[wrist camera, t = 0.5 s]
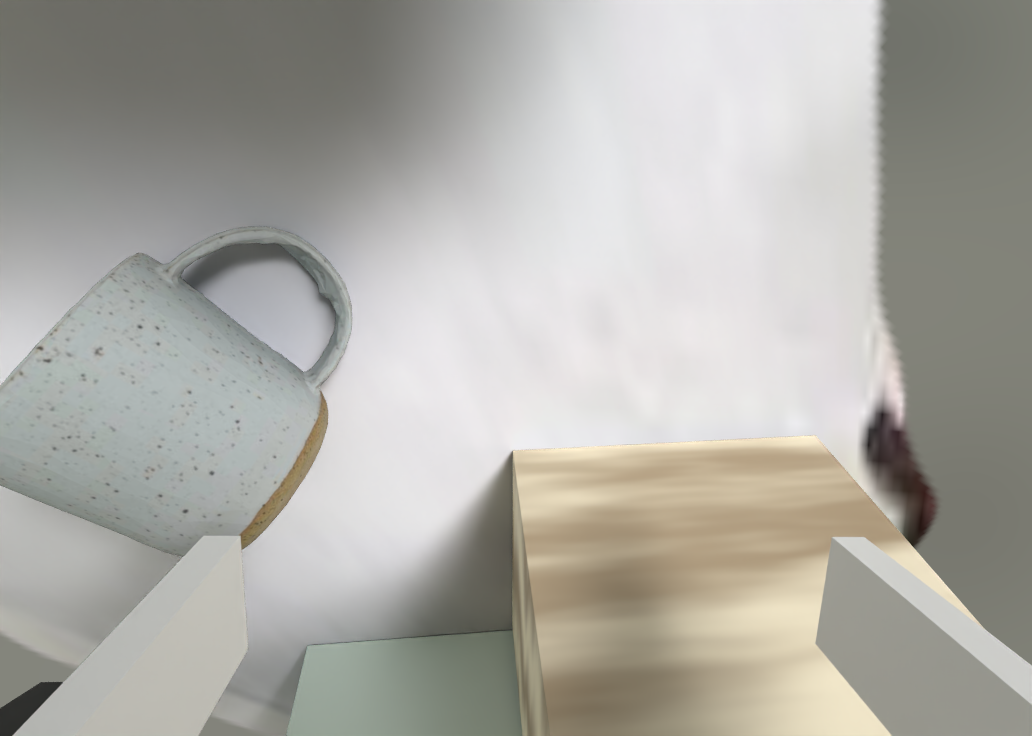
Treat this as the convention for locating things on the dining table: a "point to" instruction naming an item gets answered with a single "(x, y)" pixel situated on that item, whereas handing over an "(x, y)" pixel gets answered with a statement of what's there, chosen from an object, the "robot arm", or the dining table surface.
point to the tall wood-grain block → (686, 588)
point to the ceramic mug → (168, 406)
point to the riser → (410, 688)
